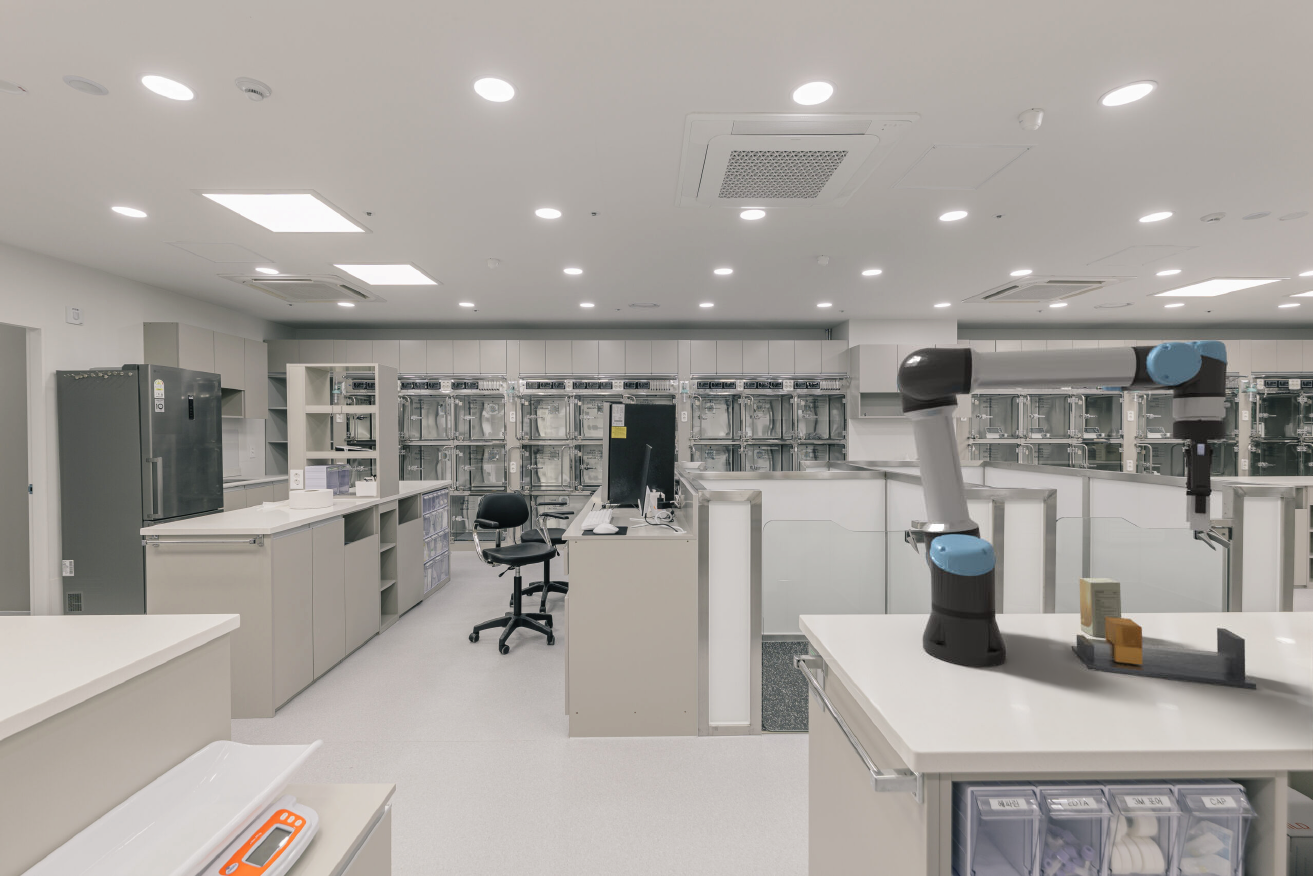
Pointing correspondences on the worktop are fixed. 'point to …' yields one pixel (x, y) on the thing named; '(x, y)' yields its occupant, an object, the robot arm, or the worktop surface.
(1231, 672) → the rail
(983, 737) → the worktop surface
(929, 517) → the robot arm
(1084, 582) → the skincare box
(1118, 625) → the orange slider block
